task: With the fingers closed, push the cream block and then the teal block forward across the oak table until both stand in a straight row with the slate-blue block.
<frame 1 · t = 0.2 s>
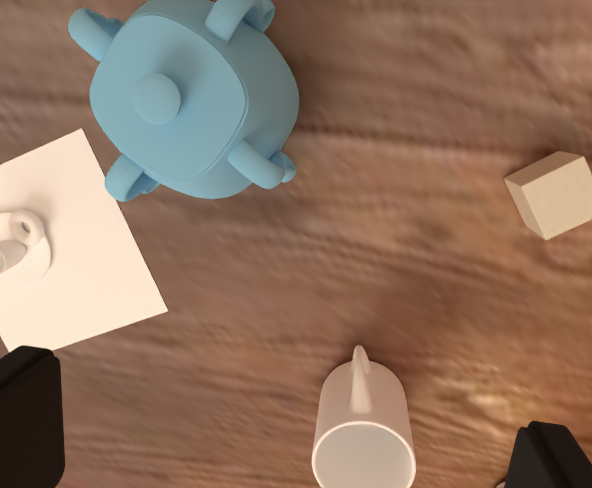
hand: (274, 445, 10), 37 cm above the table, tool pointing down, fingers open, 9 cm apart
mug: (361, 378, 50), on the table
decorative pot: (215, 102, 45), on the table
cream block: (541, 189, 43), on the table
teacup and saucer: (47, 254, 51), on the table
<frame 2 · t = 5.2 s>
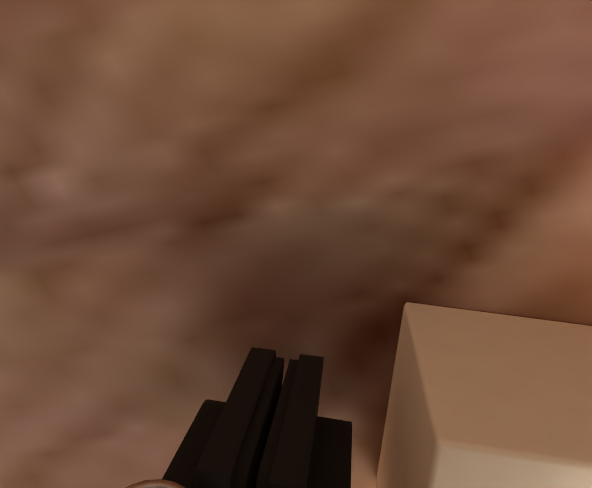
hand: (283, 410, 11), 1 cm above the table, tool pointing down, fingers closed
cream block: (494, 410, 12), on the table, touching gripper
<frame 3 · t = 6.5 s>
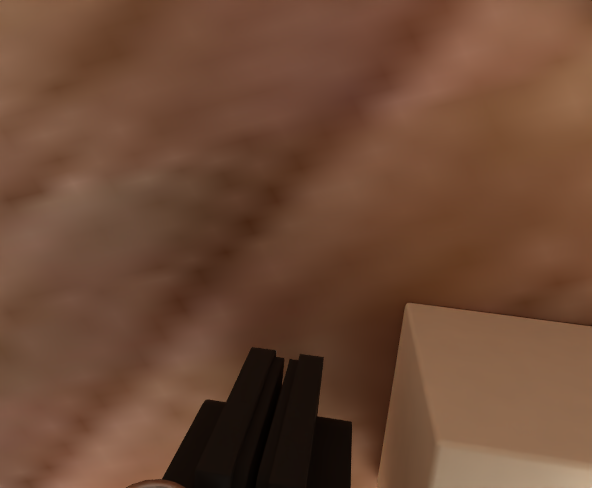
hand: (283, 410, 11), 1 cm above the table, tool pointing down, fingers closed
cream block: (496, 411, 12), on the table, touching gripper
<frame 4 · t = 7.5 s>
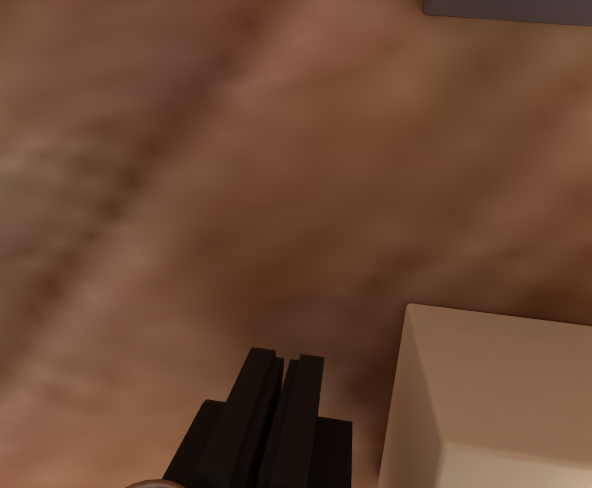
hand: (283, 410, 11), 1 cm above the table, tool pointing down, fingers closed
cream block: (497, 411, 12), on the table, touching gripper
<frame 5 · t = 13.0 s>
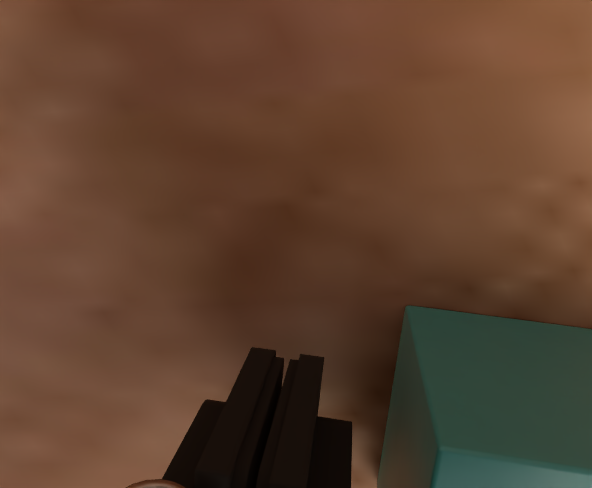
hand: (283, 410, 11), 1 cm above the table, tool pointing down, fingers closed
teal block: (495, 414, 12), on the table, touching gripper
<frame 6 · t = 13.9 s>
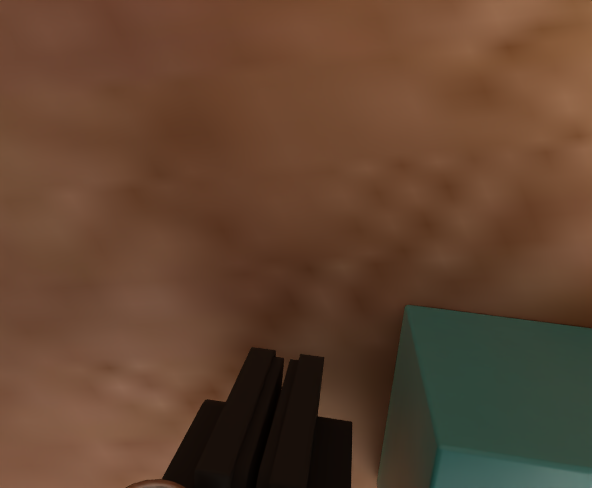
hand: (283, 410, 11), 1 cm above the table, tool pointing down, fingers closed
teal block: (495, 413, 12), on the table, touching gripper
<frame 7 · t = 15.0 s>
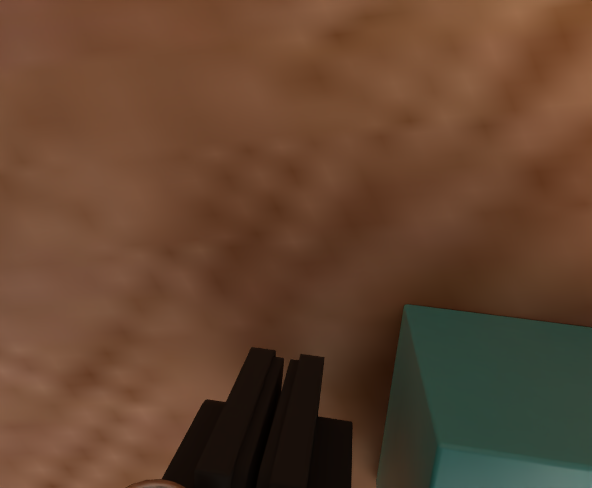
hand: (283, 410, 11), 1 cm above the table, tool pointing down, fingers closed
teal block: (493, 412, 12), on the table, touching gripper
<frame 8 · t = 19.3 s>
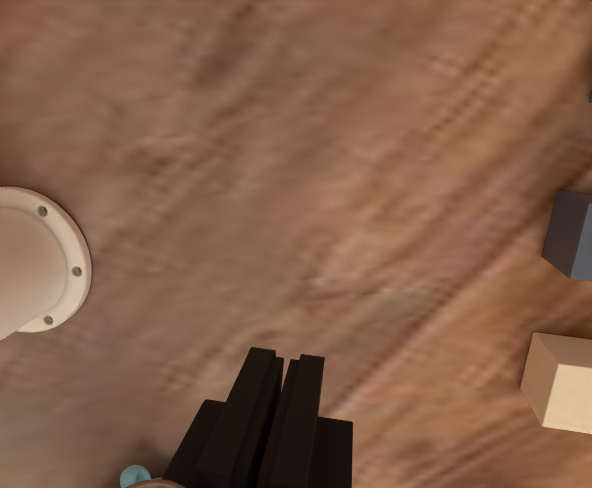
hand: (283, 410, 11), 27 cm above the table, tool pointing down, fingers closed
cream block: (559, 364, 38), on the table
slate block: (585, 228, 35), on the table
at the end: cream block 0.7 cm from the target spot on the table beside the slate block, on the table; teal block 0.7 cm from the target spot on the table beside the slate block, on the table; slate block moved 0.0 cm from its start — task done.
